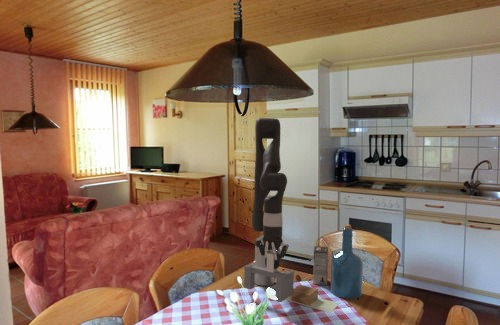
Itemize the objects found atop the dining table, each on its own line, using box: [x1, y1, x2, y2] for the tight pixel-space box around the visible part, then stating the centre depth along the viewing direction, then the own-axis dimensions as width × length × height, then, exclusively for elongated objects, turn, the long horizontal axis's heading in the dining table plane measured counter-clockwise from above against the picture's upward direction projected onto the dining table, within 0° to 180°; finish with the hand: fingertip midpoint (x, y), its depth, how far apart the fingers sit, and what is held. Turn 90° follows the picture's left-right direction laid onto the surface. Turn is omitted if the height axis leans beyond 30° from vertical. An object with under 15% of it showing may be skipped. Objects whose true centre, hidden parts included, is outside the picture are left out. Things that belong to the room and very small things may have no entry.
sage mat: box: [284, 296, 340, 314], centre depth 143 cm, size 20×10×1 cm, turn 56°
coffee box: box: [312, 245, 329, 286], centre depth 165 cm, size 9×6×16 cm
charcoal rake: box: [243, 252, 295, 303], centre depth 141 cm, size 19×10×16 cm, turn 56°
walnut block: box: [290, 284, 319, 306], centre depth 144 cm, size 8×8×4 cm
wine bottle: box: [330, 224, 364, 300], centre depth 152 cm, size 14×13×30 cm
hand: (272, 267), depth 140 cm, fingers closed on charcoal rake, 3 cm apart
